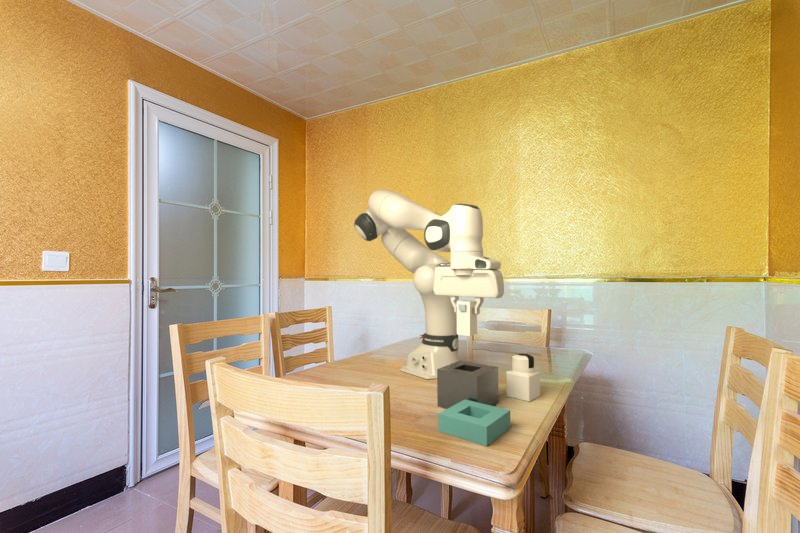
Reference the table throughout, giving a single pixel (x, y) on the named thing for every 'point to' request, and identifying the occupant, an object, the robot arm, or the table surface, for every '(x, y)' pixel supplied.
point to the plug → (466, 318)
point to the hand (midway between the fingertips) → (466, 313)
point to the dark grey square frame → (467, 384)
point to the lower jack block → (474, 421)
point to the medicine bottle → (523, 378)
